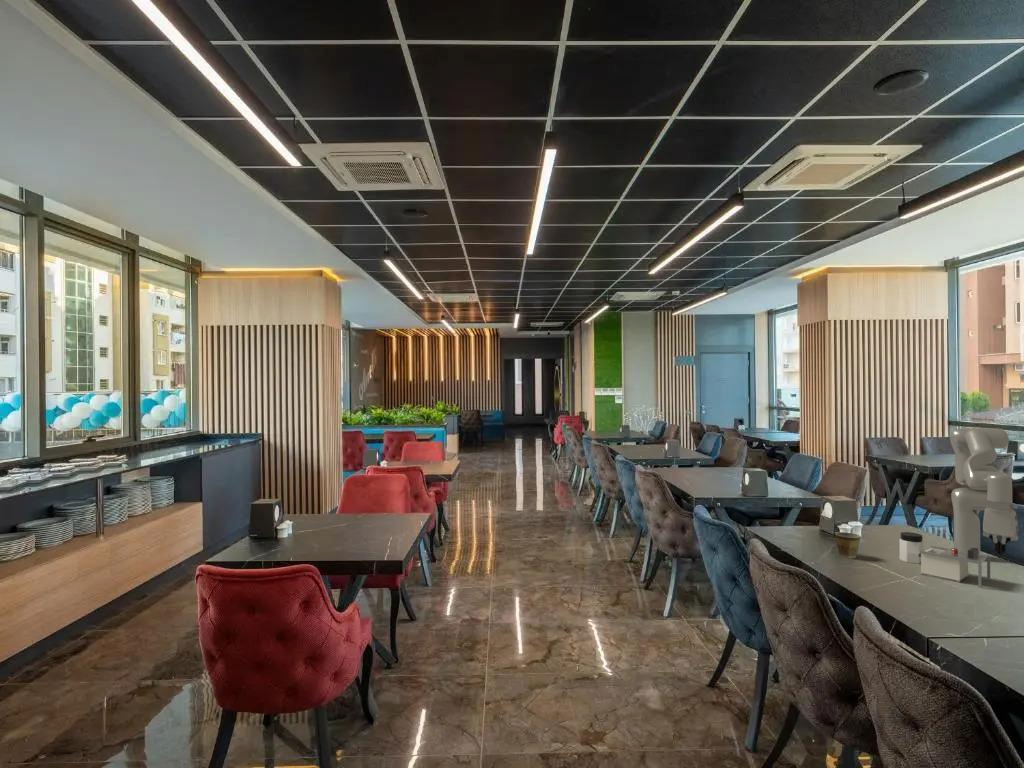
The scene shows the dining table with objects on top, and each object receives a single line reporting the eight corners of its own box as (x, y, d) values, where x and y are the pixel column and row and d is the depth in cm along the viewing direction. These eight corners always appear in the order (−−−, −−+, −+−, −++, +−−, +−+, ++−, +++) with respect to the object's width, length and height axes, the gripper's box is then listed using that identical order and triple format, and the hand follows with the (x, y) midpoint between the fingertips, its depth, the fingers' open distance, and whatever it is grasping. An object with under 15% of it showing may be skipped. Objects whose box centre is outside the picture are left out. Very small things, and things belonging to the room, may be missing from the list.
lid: (948, 551, 245) (948, 542, 245) (987, 558, 235) (987, 548, 235) (940, 556, 238) (940, 546, 238) (980, 563, 228) (980, 553, 228)
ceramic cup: (864, 559, 264) (864, 537, 264) (842, 559, 264) (842, 537, 264) (849, 551, 277) (848, 530, 277) (827, 551, 277) (827, 530, 277)
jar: (917, 564, 257) (917, 537, 257) (896, 560, 263) (896, 533, 264) (926, 561, 261) (926, 534, 262) (906, 557, 268) (905, 531, 268)
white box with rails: (925, 567, 252) (925, 544, 252) (990, 580, 235) (990, 555, 235) (914, 573, 244) (914, 549, 244) (981, 587, 226) (980, 562, 227)
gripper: (1027, 508, 224) (1027, 556, 224) (978, 502, 236) (979, 548, 235) (1022, 510, 219) (1023, 559, 219) (973, 504, 231) (973, 551, 230)
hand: (1000, 553), depth 227 cm, fingers closed
